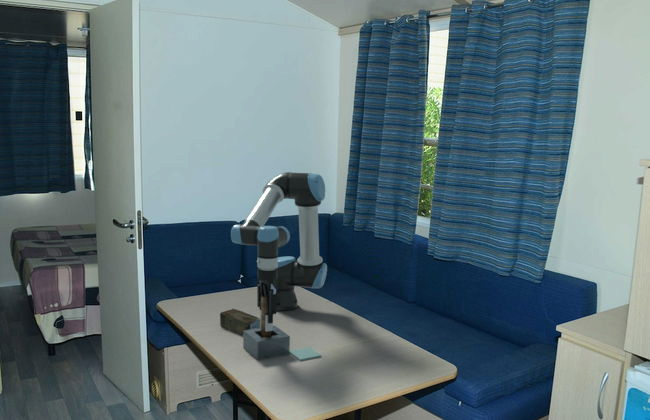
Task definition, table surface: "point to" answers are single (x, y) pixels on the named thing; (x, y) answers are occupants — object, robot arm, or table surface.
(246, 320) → the beverage carton
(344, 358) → the table surface
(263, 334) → the brown rounded rod
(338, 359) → the table surface
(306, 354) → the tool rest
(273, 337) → the box
